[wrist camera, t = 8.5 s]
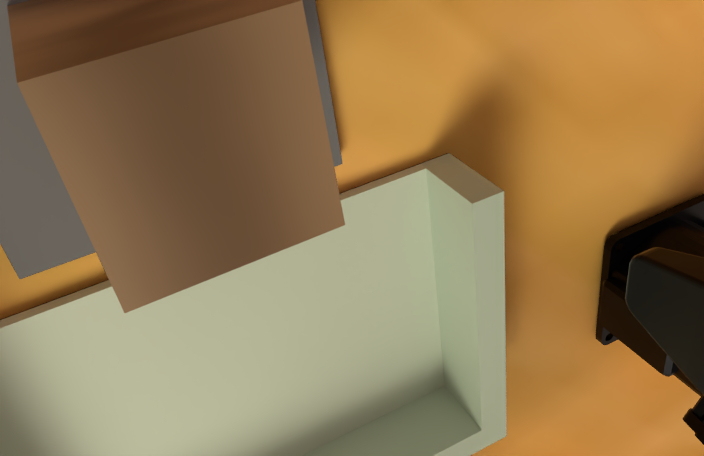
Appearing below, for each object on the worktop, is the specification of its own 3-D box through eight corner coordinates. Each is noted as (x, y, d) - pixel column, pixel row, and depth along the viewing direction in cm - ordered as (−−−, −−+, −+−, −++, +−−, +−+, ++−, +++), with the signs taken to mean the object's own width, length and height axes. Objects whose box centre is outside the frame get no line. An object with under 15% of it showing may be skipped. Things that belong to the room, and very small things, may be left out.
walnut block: (213, -48, 17) (302, 0, 12) (259, 130, 19) (345, 224, 15) (7, 5, 15) (17, 82, 11) (88, 189, 18) (124, 313, 13)
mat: (283, -157, 17) (288, -157, 16) (337, 158, 22) (342, 163, 21) (-165, -68, 14) (-168, -65, 13) (19, 271, 19) (19, 279, 18)
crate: (449, 153, 24) (503, 191, 21) (463, 386, 30) (506, 436, 28) (-119, 364, 18) (-136, 448, 16) (54, 589, 25) (61, 672, 23)
